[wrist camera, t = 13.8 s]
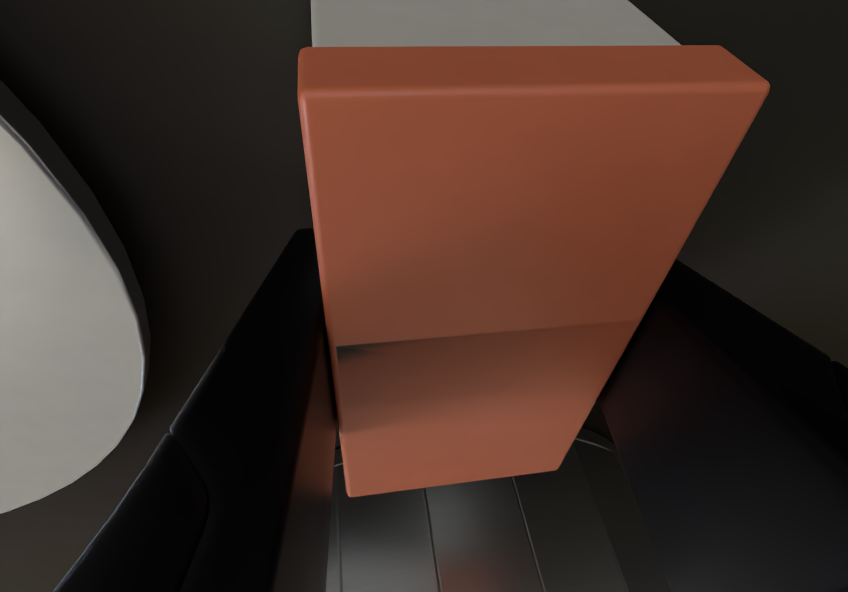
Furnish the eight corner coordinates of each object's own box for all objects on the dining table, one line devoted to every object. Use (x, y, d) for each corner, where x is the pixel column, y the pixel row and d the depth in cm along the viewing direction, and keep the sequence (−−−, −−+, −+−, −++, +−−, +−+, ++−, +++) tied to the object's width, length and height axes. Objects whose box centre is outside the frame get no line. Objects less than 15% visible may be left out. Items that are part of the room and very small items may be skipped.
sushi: (297, -48, 6) (296, 91, 3) (612, -41, 6) (779, 84, 4) (337, 342, 11) (347, 499, 8) (509, 328, 11) (558, 472, 9)
